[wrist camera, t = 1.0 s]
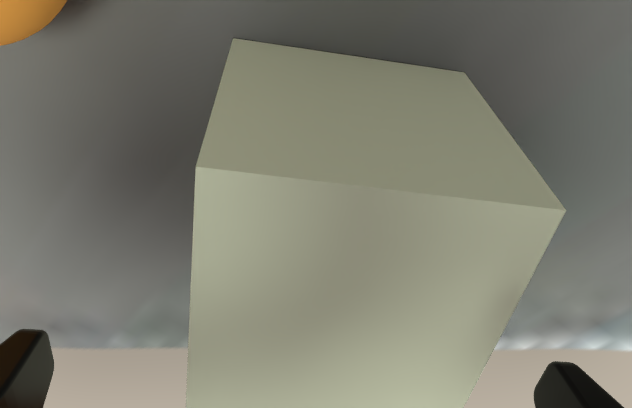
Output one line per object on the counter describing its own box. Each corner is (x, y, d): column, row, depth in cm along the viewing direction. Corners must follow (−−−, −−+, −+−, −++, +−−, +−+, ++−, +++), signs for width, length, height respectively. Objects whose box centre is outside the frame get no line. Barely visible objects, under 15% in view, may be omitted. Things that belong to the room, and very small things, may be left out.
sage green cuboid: (464, 72, 17) (566, 210, 11) (406, 249, 21) (454, 424, 15) (233, 38, 16) (195, 166, 10) (218, 229, 21) (185, 407, 14)
